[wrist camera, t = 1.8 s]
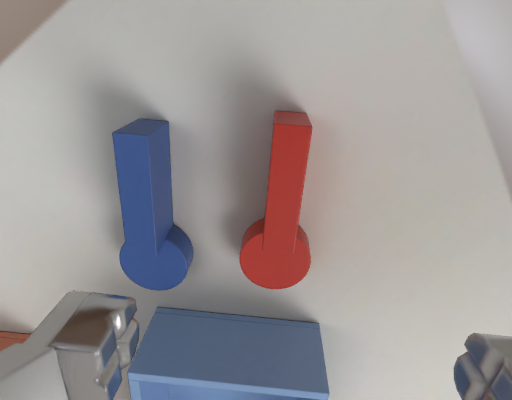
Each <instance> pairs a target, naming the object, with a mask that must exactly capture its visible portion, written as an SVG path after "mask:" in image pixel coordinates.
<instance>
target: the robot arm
mask: <svg viewBox="0 0 512 400" xmlns="http://www.w3.org/2000/svg"><path fill="white" fill-rule="evenodd" d="M136 311H137V307H136V300H135V299H134V298H132V297H125V296H117V295H109V294H102V293H94V292H93V293H90V292H83V291H75V290H73V291H71V292H69V293H67V294H66V295H65V296H64V297H63V298H62V299H61V301H60V302H59V303H58V304H57V305H56V306H55V307H54V309H53V310H52V311H51V312H50V313H49V314H48V315H47V317H46V318H45V319H44V320H43V321H42V322H41V323H40V324H39V326H38V327H37V328H36V329H35V330H34V331H33V332H32V334H31V335H30V336H29V337H28V338H27V339H26V340H25V342H24V343H23V344H20V343H15V344H13V345H11V346H9V347H8V348H6V349H4V350H2V351H0V400H113V398H114V396H115V394H116V392H117V390H118V388H119V385H120V383H121V381H122V377H121V370H122V369H123V368H124V367H126V366H127V365H128V364H130V362H131V360H132V358H133V356H134V354H135V351H136V347H137V343H138V339H139V323H138V322H137V321H136V320H135V319H134V318H133V316H134V314H135V312H136ZM464 345H465V347H466V349H467V351H468V352H466V353H464V354H463V355H461V356H459V357H458V358H457V361H456V363H455V366H454V381H455V385H456V388H457V391H458V393H459V395H460V397H461V399H462V400H512V337H511V336H500V335H490V334H479V333H473V334H471V335H470V336H468V338H467V340H466V342H465V344H464Z"/></svg>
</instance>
